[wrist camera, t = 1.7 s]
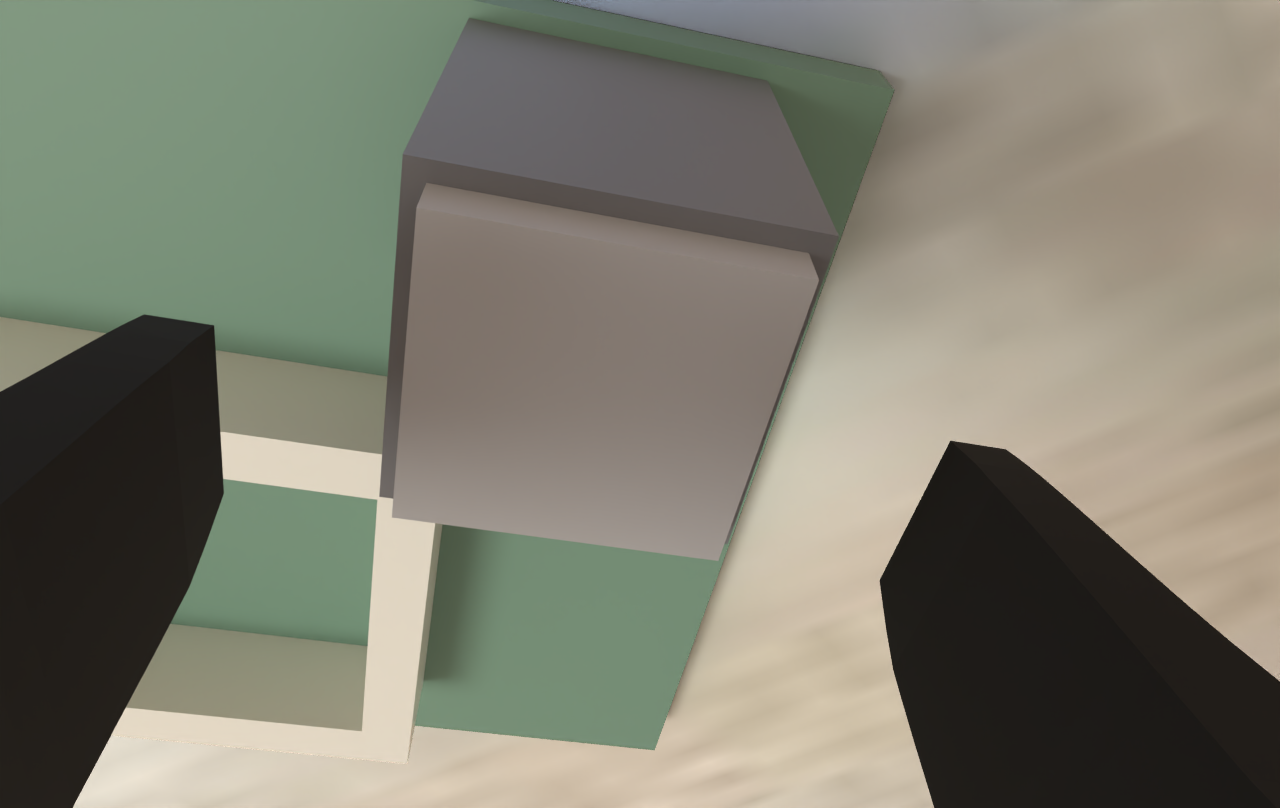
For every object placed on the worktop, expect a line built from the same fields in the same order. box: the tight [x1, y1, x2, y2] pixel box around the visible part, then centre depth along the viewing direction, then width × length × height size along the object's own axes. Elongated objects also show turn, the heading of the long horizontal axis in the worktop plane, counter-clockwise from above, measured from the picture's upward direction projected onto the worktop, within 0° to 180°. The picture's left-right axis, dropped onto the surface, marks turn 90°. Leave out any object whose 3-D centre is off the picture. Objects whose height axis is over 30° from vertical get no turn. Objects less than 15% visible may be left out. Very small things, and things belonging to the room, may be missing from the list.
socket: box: [0, 317, 442, 764], centre depth 18 cm, size 8×8×2 cm
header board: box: [0, 0, 894, 750], centre depth 18 cm, size 16×17×1 cm
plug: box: [379, 18, 839, 561], centre depth 13 cm, size 4×4×6 cm
